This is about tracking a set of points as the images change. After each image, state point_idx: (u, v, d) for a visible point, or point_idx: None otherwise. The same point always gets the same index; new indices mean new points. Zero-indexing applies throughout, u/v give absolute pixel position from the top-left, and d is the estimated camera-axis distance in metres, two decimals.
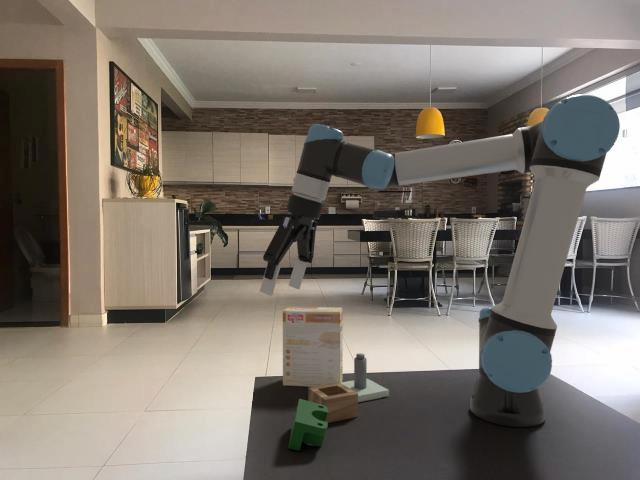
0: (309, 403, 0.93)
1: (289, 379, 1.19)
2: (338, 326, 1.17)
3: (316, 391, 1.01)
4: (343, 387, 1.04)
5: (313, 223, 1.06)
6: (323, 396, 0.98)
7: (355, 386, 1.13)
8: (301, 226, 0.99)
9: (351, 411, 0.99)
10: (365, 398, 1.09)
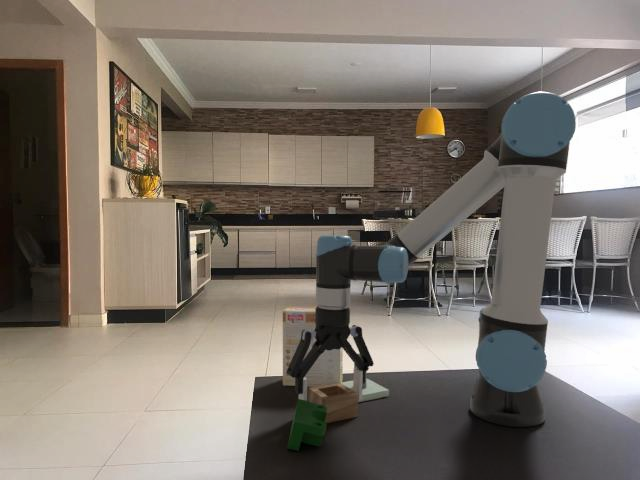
0: (308, 403, 0.93)
1: (289, 379, 1.19)
2: None
3: (316, 391, 1.01)
4: (343, 387, 1.04)
5: (356, 329, 1.03)
6: (323, 396, 0.98)
7: None
8: (327, 336, 0.99)
9: (351, 411, 0.99)
10: (365, 398, 1.09)
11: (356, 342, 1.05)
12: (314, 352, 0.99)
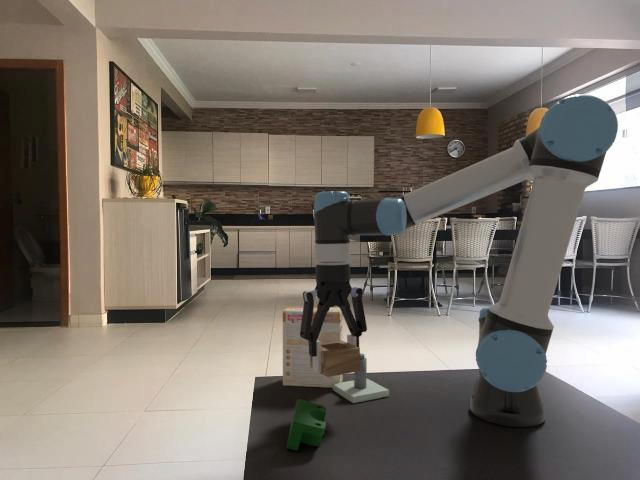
0: (307, 403, 0.93)
1: (289, 379, 1.19)
2: (338, 326, 1.17)
3: None
4: (345, 343, 1.03)
5: (357, 290, 1.03)
6: (324, 350, 0.98)
7: (355, 386, 1.13)
8: (328, 293, 0.99)
9: (353, 365, 0.99)
10: (365, 398, 1.09)
11: (354, 304, 1.04)
12: (320, 312, 0.99)
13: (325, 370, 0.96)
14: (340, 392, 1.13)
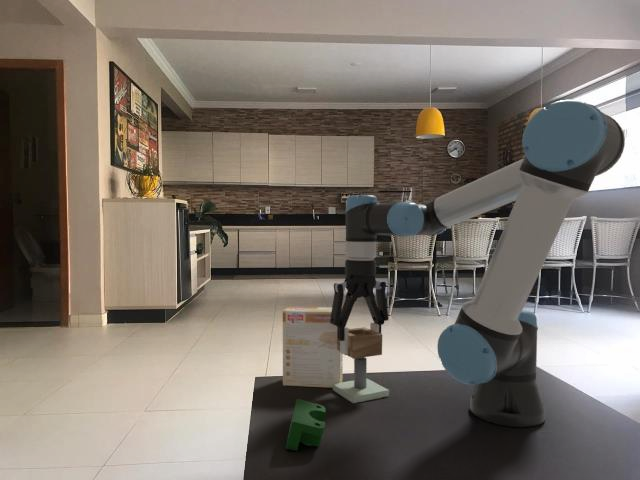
0: (306, 403, 0.93)
1: (289, 379, 1.19)
2: None
3: None
4: (368, 330, 1.16)
5: (381, 283, 1.16)
6: (351, 335, 1.11)
7: (355, 386, 1.13)
8: (356, 285, 1.12)
9: (376, 349, 1.12)
10: (365, 398, 1.09)
11: (378, 296, 1.17)
12: (348, 302, 1.11)
13: (352, 352, 1.09)
14: (340, 392, 1.13)
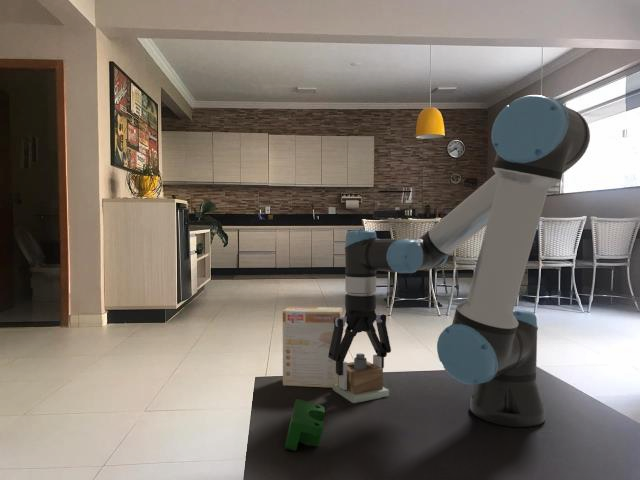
0: (306, 403, 0.93)
1: (289, 379, 1.19)
2: None
3: None
4: (369, 364, 1.16)
5: (381, 316, 1.16)
6: (352, 371, 1.11)
7: None
8: (356, 320, 1.12)
9: (377, 384, 1.12)
10: (365, 398, 1.09)
11: (379, 328, 1.17)
12: (348, 336, 1.11)
13: (353, 388, 1.09)
14: (340, 392, 1.13)
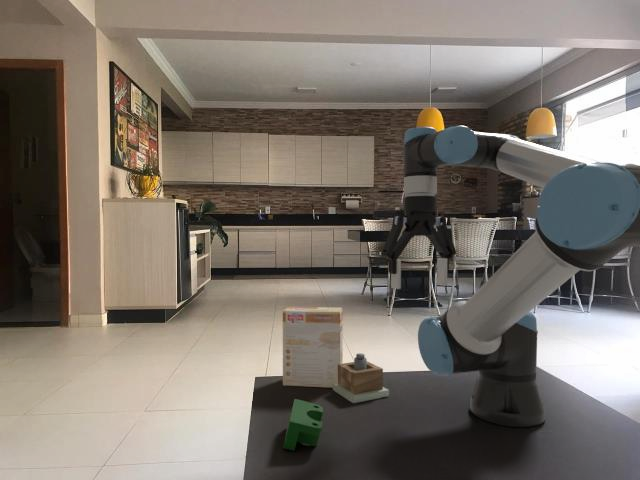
0: (304, 403, 0.93)
1: (289, 379, 1.19)
2: (338, 326, 1.17)
3: (346, 367, 1.13)
4: (369, 364, 1.16)
5: (440, 219, 1.11)
6: (352, 371, 1.11)
7: None
8: (417, 222, 1.07)
9: (377, 384, 1.12)
10: (365, 398, 1.09)
11: (440, 232, 1.12)
12: (405, 236, 1.06)
13: (353, 388, 1.09)
14: (340, 392, 1.13)
